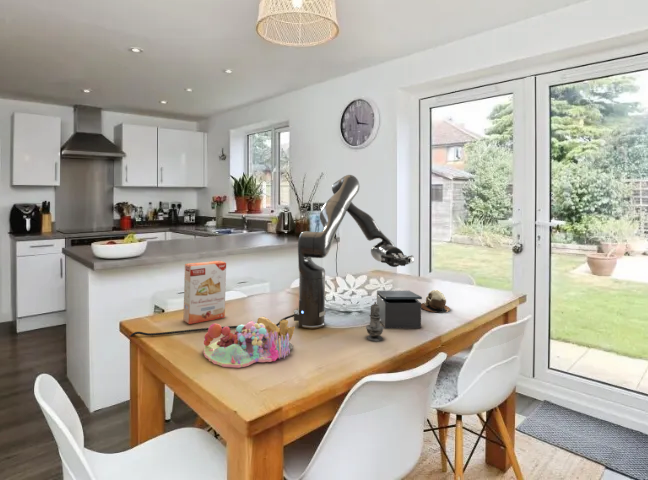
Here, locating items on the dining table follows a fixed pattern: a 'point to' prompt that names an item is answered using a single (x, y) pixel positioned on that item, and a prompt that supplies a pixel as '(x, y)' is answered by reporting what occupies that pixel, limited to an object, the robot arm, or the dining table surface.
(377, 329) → the salt shaker
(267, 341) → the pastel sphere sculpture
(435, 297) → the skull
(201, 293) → the cracker box
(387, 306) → the dark grey box
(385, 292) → the lid
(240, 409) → the dining table surface
